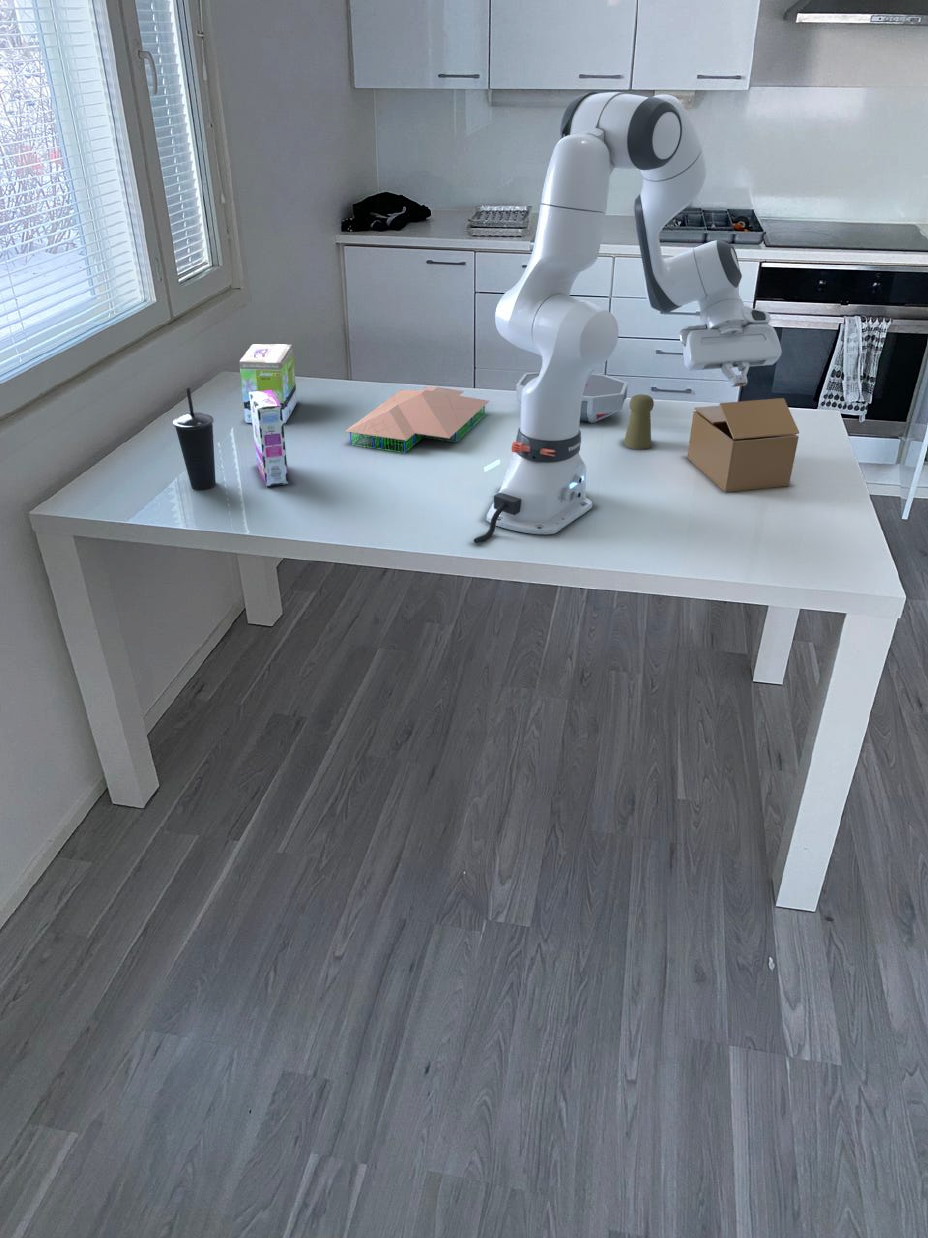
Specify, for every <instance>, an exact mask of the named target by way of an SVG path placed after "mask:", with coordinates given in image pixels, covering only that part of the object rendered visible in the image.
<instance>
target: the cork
mask: <svg viewBox="0 0 928 1238" xmlns="http://www.w3.org/2000/svg"><path fill="white" fill-rule="evenodd" d="M628 404H629V409H630V410H631V411H630V415H629V419H628V422H627V423H628V424H627V427H626V432H625V435H624V441H623V446H625V447H626V448H629V449H632V450H647V449H650V448H651V447H652V422H651V412H652V411H653V409H654V405H655V401H654V399H653V397H651V396H650V395H648V394H643V393H642V394H641V393H640V394H635V395H633V396H632V397H631V398H630V401H629V403H628Z"/></svg>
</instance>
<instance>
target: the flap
mask: <svg viewBox="0 0 928 1238" xmlns="http://www.w3.org/2000/svg"><path fill="white" fill-rule="evenodd" d="M718 406H720V408H721V410H722V413H723V415H724V418H725V420H726V422H727V425H728V427H729V430H730V432H731V435H732V437H733V439H745V438H757V437H768V436H780V435H791V434H796V435H799V434H800V430H799V428H798V426H797V424H796V422H795V420H794V418H793V415H792V413H791V411H790V408H789V407H788V404H787V402H786V399H785V398H784V397H781V398H780V397H779V398H768V399H756V400H755V399H753V400H741V401H729V402H719V404H718Z"/></svg>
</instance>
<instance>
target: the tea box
mask: <svg viewBox="0 0 928 1238" xmlns="http://www.w3.org/2000/svg"><path fill="white" fill-rule="evenodd" d="M239 371H240V381H241V391H242V401H243V410H244V420H245V423H248V424H252V415H251V405H250V397H249V392H255V391H264V390H272V392H273V393H274V395H275V397H276V398H277V400H278V402H279V403H280V405H281V406H282V417H283V424H286V423H287V421H288V420H289V418H290V416H291V415H292V412H293V410H294V409H295V408H296V405H297V403H298V400H297V399H298V397H297V386H296V385H297V384H296V373H295V371H296V370H295V360H294V349H293V345H292V344H282V343H281V344H279V343H276V344H275V343H273V344H271V343H267V344H266V343H253V344H251V345H250V347H249V349H247V350H246V352H245V353H244V355H243V356H242V357H241V358H240V360H239Z"/></svg>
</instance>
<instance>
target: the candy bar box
mask: <svg viewBox="0 0 928 1238" xmlns="http://www.w3.org/2000/svg"><path fill="white" fill-rule="evenodd" d="M249 397H250V405H251V415H252V423H251V424H252V431H253V440H254V448H255V458H256V465H257V466H256V467H257V469H258V472H259V474H260V476H261V479H262V480H263V482H264V485H265V487H275V486H283V485H289V483H290V482H289V473H288V461H287V449H286V439H285V430H284V429H285V428H284V423H283V417H282V406H281V405H280V403H279V402H278V400H277V398H276V397H275V395H274V393H273V392H272V390H264V391H255V392H249Z"/></svg>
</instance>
